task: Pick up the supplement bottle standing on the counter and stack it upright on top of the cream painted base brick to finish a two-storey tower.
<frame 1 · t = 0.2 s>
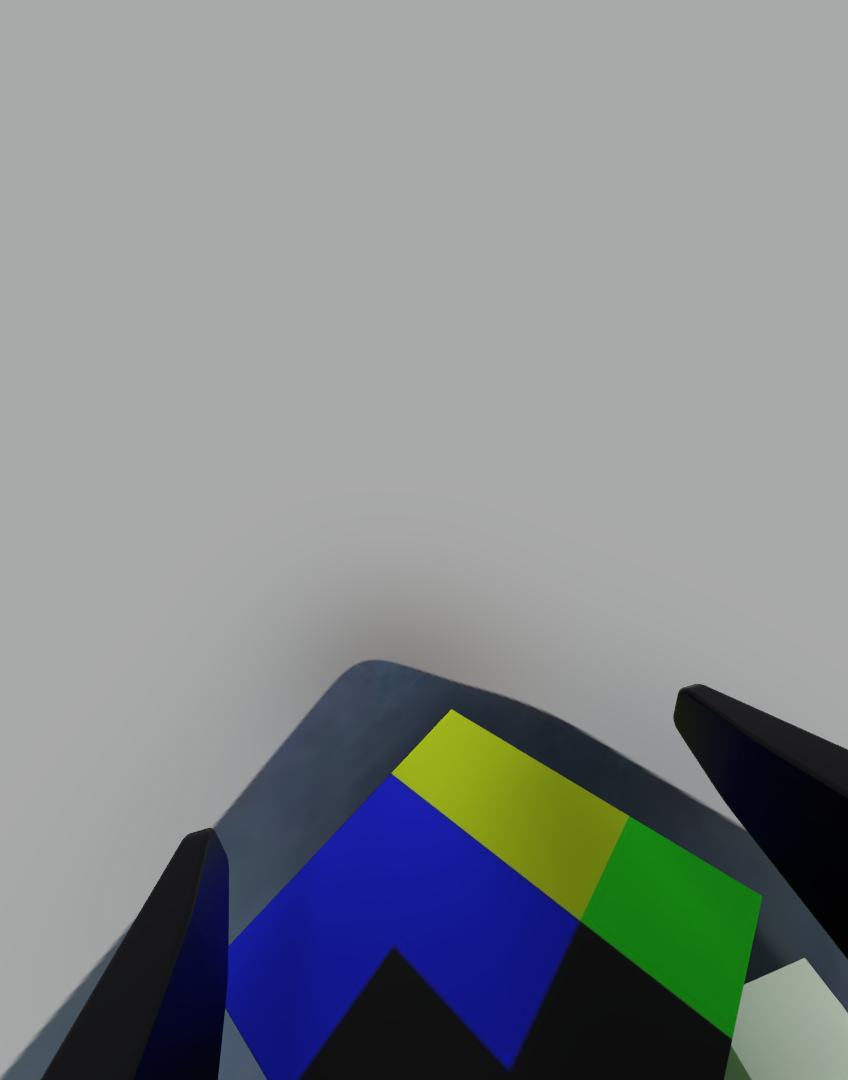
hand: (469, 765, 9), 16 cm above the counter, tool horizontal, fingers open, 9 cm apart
puzzle toy: (494, 1065, 17), on the counter
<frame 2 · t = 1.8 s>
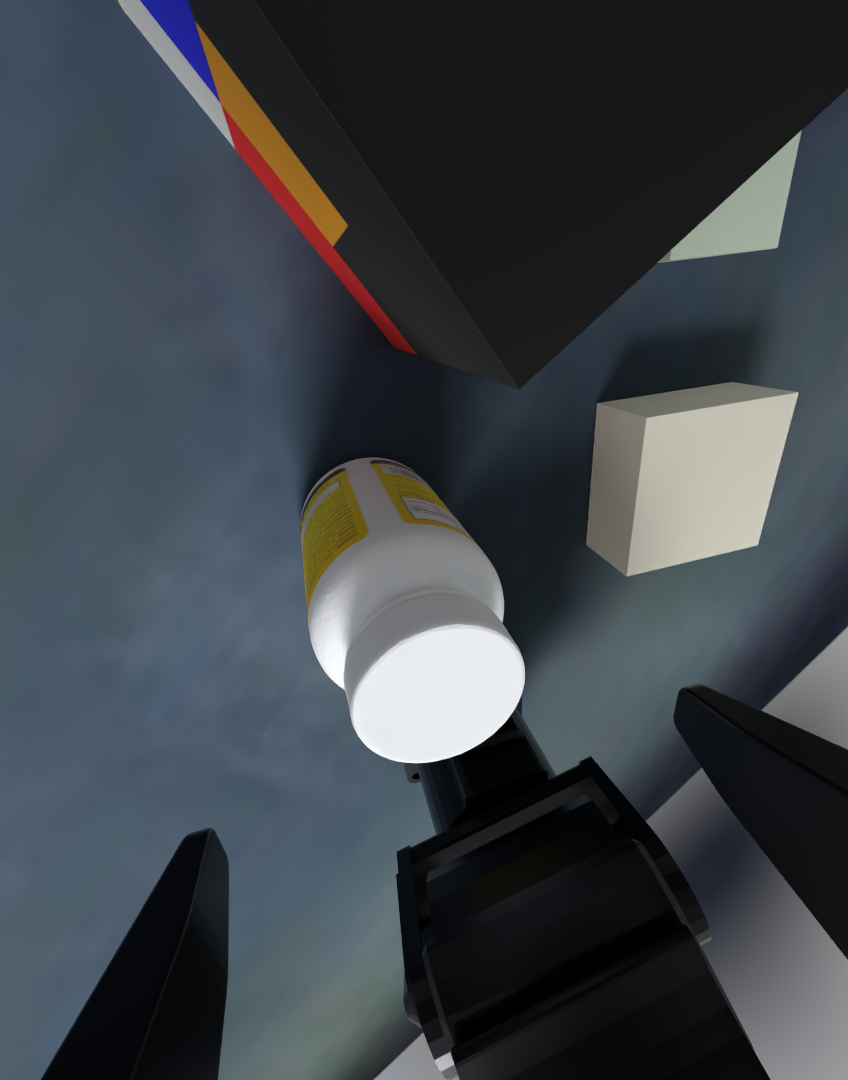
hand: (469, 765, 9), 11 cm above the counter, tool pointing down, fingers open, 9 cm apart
supplement bottle: (369, 519, 19), on the counter
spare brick: (665, 197, 16), on the counter
base brick: (656, 466, 21), on the counter
puzzle toy: (406, 80, 13), on the counter
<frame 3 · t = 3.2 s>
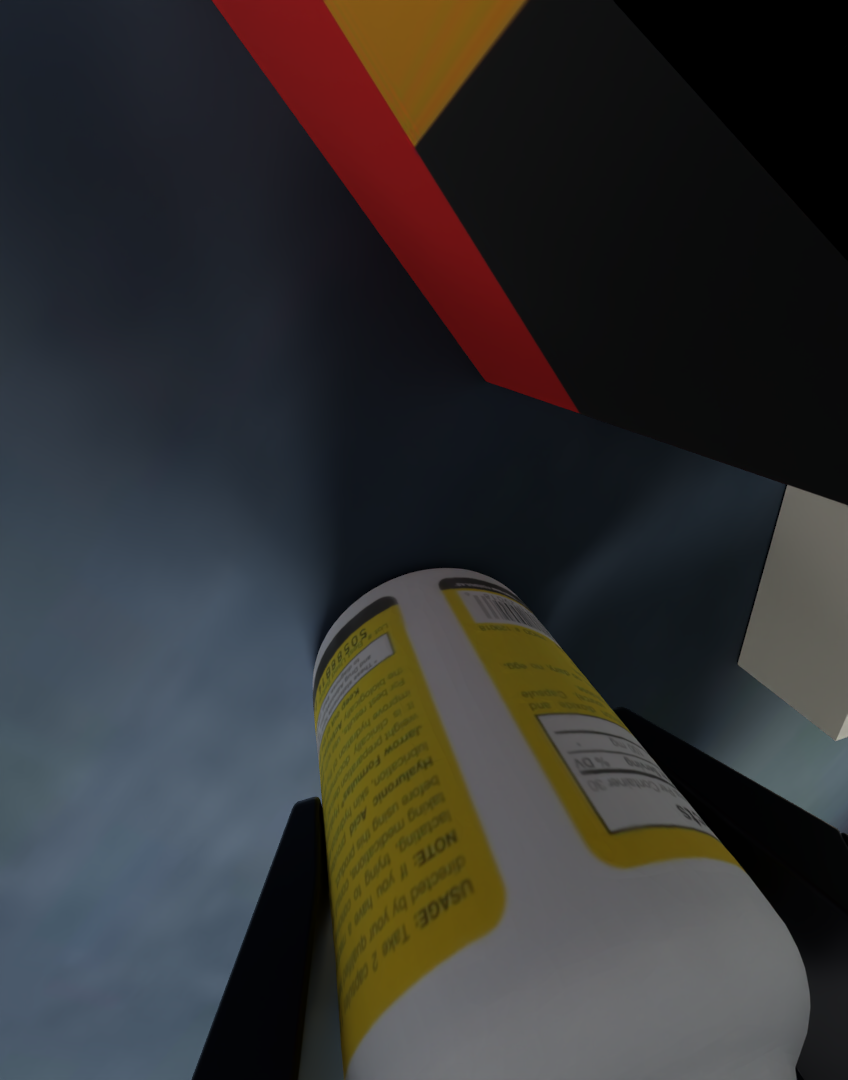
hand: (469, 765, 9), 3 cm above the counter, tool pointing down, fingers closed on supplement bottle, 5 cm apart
supplement bottle: (424, 654, 11), on the counter, touching gripper
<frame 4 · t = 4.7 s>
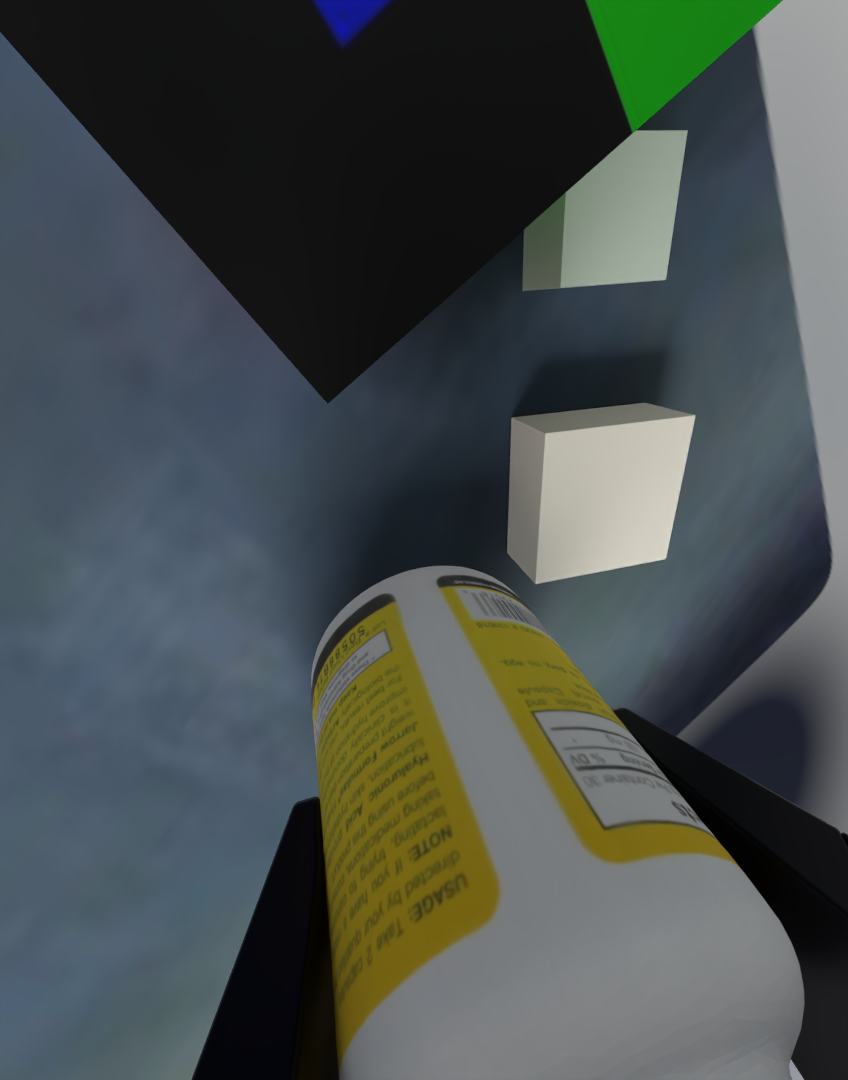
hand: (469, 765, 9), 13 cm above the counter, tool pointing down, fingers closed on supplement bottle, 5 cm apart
supplement bottle: (423, 652, 12), point 10 cm above the counter, touching gripper
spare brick: (571, 226, 17), on the counter
base brick: (573, 480, 22), on the counter
puzzle toy: (312, 108, 14), on the counter
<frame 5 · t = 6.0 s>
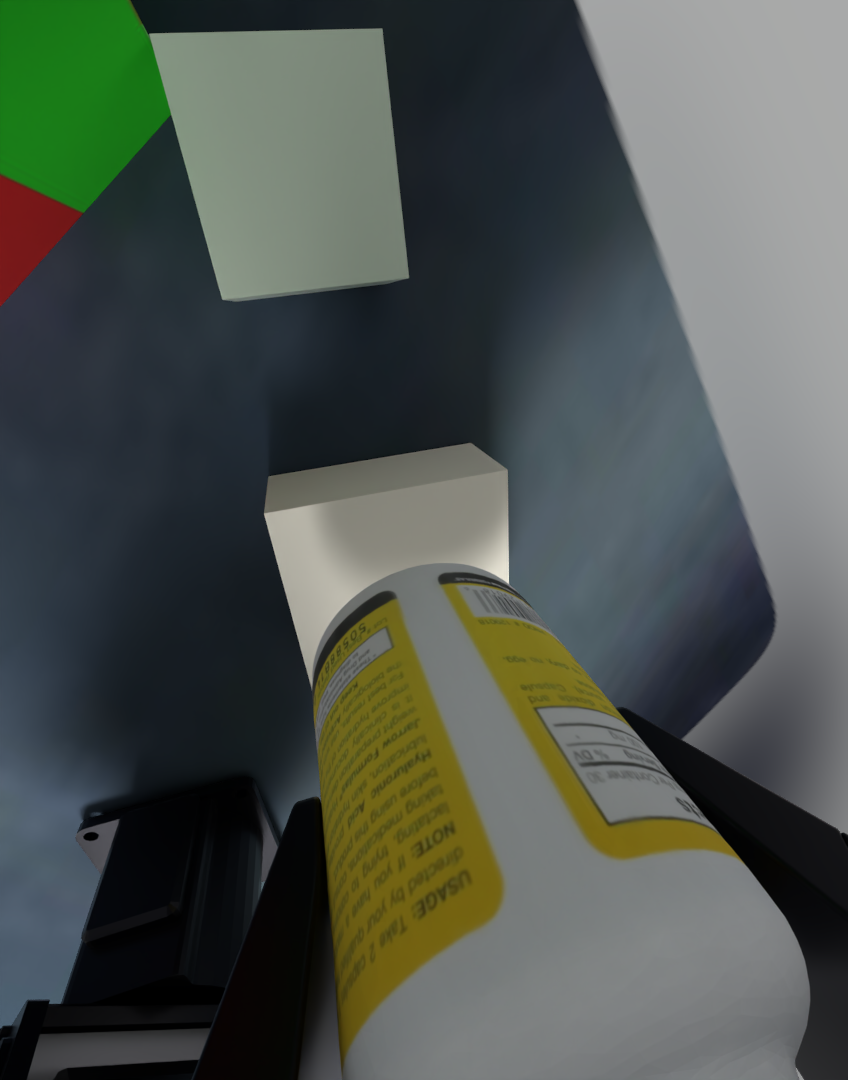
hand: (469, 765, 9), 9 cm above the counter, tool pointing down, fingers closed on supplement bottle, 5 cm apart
supplement bottle: (424, 650, 11), point 6 cm above the counter, touching gripper
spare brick: (295, 203, 12), on the counter
base brick: (386, 548, 16), on the counter
when the fingers open (7 cm above the counter, at t = 6.7 s): supplement bottle drops 1 cm, resting on base brick.
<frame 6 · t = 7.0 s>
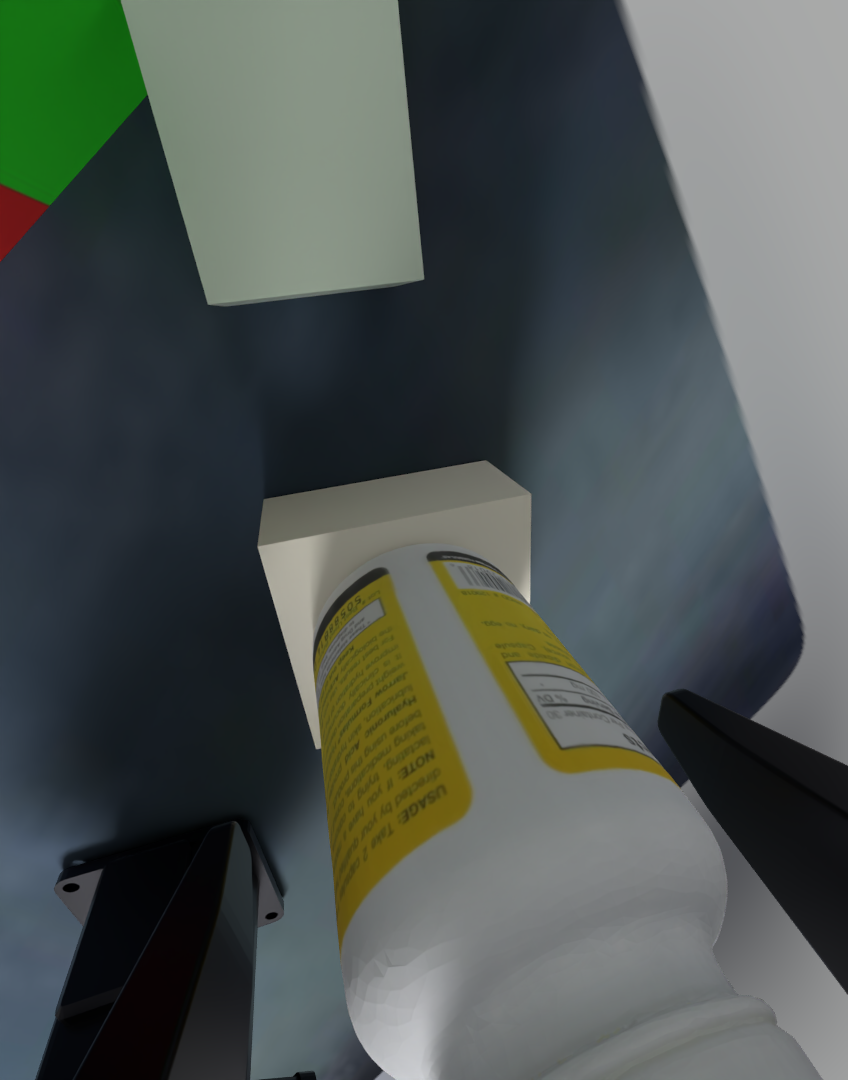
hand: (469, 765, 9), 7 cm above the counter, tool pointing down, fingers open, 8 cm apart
supplement bottle: (415, 625, 12), point 3 cm above the counter, touching base brick
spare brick: (293, 195, 10), on the counter
base brick: (393, 575, 15), on the counter
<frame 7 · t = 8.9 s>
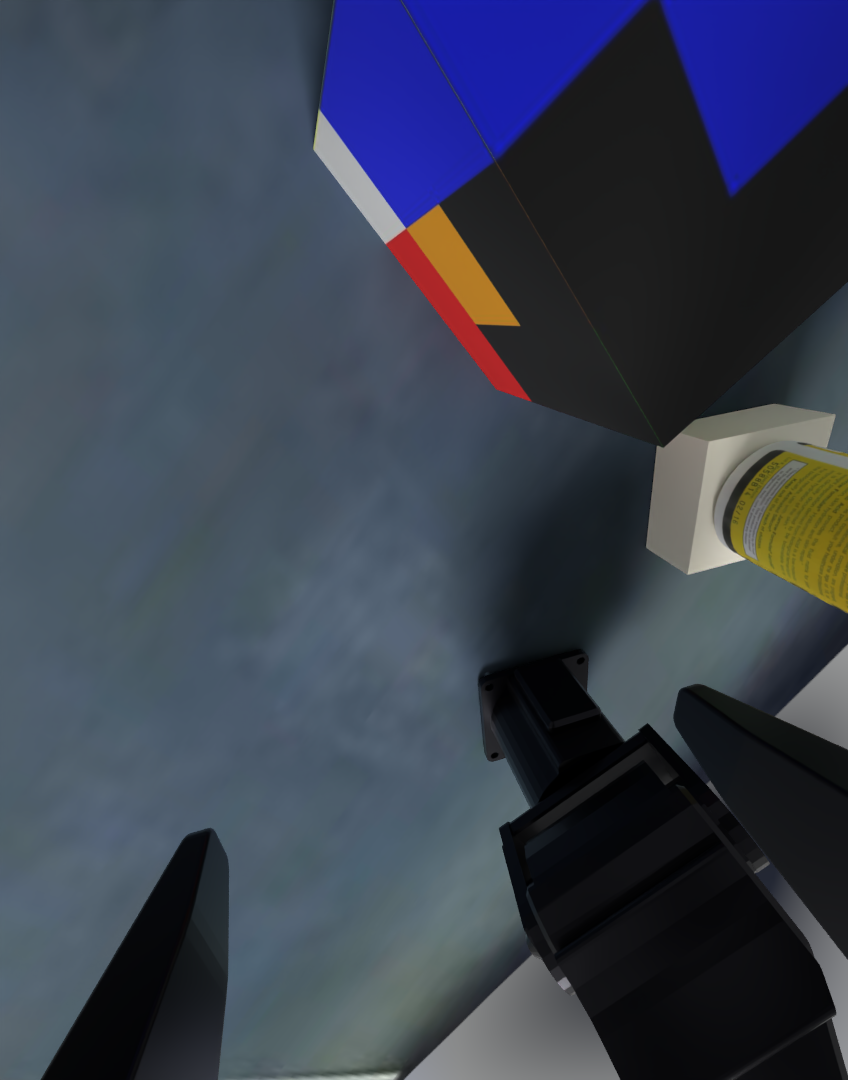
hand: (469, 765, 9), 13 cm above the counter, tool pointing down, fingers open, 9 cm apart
supplement bottle: (755, 495, 22), point 3 cm above the counter, touching base brick
base brick: (707, 478, 24), on the counter
puzzle toy: (516, 181, 17), on the counter
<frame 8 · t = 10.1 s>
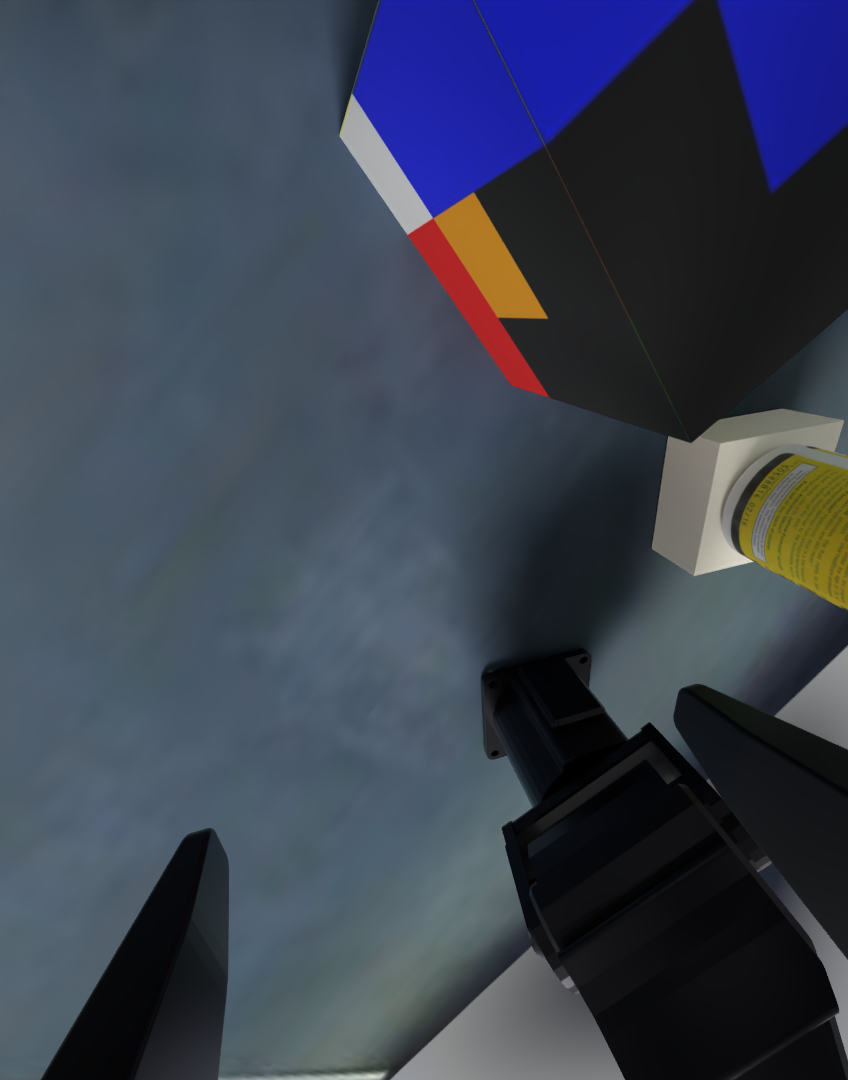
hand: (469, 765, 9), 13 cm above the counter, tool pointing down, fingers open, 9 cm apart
supplement bottle: (763, 498, 22), point 3 cm above the counter, touching base brick
base brick: (714, 481, 24), on the counter
puzzle toy: (539, 176, 17), on the counter
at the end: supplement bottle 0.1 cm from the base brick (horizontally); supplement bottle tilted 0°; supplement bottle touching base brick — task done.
